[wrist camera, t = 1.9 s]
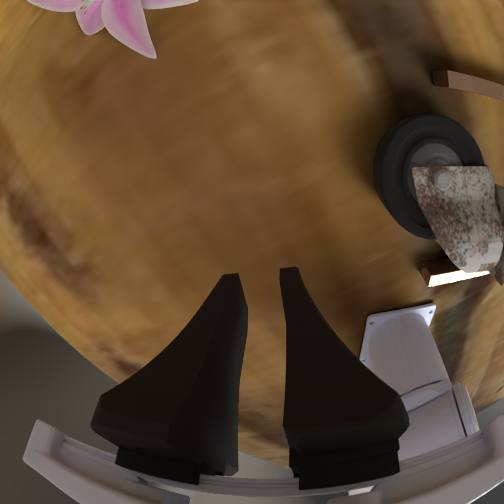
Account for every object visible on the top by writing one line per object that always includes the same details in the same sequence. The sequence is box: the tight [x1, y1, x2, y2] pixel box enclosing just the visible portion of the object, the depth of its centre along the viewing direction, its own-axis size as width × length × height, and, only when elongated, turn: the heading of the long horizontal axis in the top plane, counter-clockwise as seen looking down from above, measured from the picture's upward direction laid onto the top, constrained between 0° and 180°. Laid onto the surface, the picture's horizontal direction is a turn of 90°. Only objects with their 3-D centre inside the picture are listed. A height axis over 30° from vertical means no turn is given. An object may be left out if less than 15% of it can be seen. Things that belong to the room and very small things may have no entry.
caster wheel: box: [374, 114, 504, 286], centre depth 15 cm, size 7×11×10 cm
